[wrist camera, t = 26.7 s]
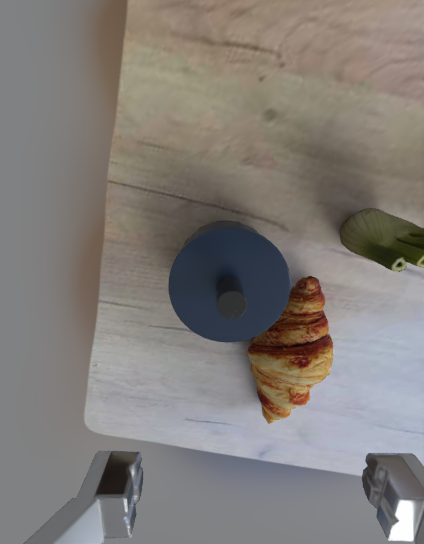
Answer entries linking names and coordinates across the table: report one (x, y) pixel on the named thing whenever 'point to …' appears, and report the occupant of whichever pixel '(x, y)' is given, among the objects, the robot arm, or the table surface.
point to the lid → (229, 284)
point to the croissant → (292, 352)
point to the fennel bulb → (384, 239)
